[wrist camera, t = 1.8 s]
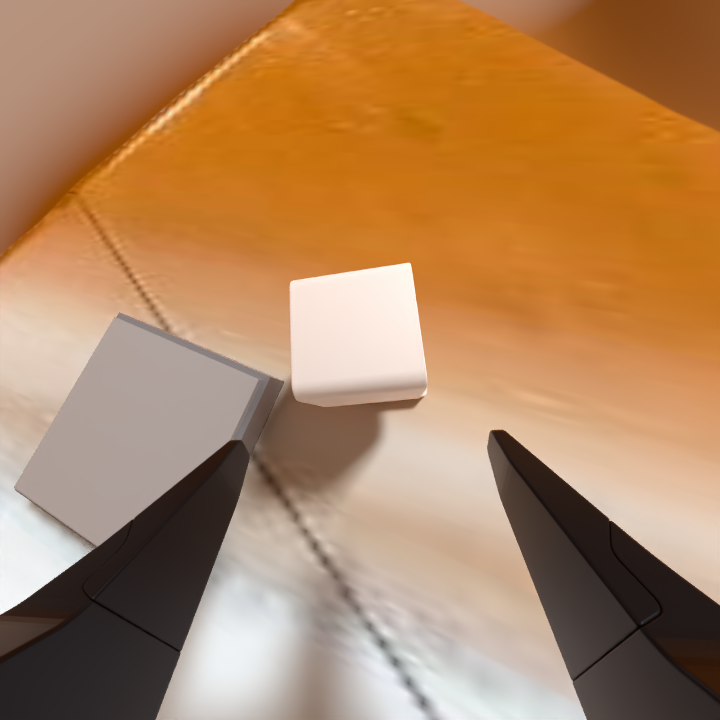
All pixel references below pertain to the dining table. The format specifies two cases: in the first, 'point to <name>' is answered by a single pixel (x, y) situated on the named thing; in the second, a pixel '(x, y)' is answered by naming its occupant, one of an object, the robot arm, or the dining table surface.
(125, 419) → the grey square slab
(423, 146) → the dining table surface
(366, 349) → the security camera
